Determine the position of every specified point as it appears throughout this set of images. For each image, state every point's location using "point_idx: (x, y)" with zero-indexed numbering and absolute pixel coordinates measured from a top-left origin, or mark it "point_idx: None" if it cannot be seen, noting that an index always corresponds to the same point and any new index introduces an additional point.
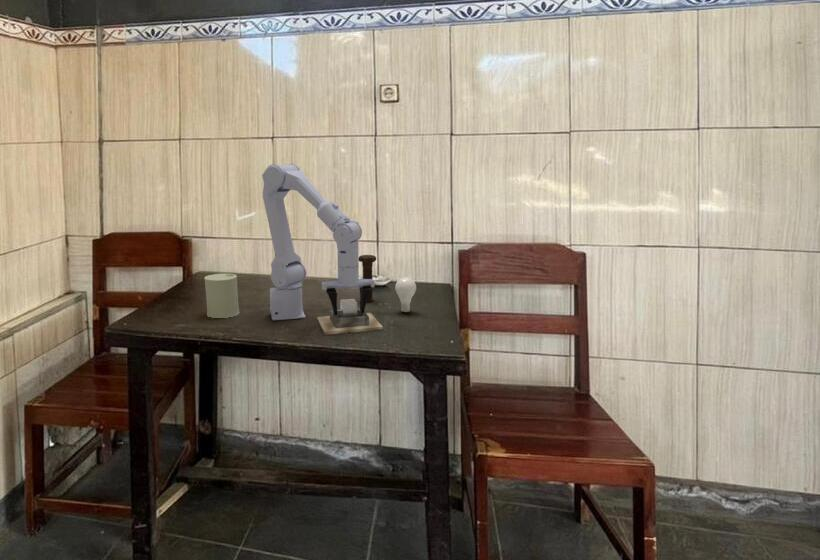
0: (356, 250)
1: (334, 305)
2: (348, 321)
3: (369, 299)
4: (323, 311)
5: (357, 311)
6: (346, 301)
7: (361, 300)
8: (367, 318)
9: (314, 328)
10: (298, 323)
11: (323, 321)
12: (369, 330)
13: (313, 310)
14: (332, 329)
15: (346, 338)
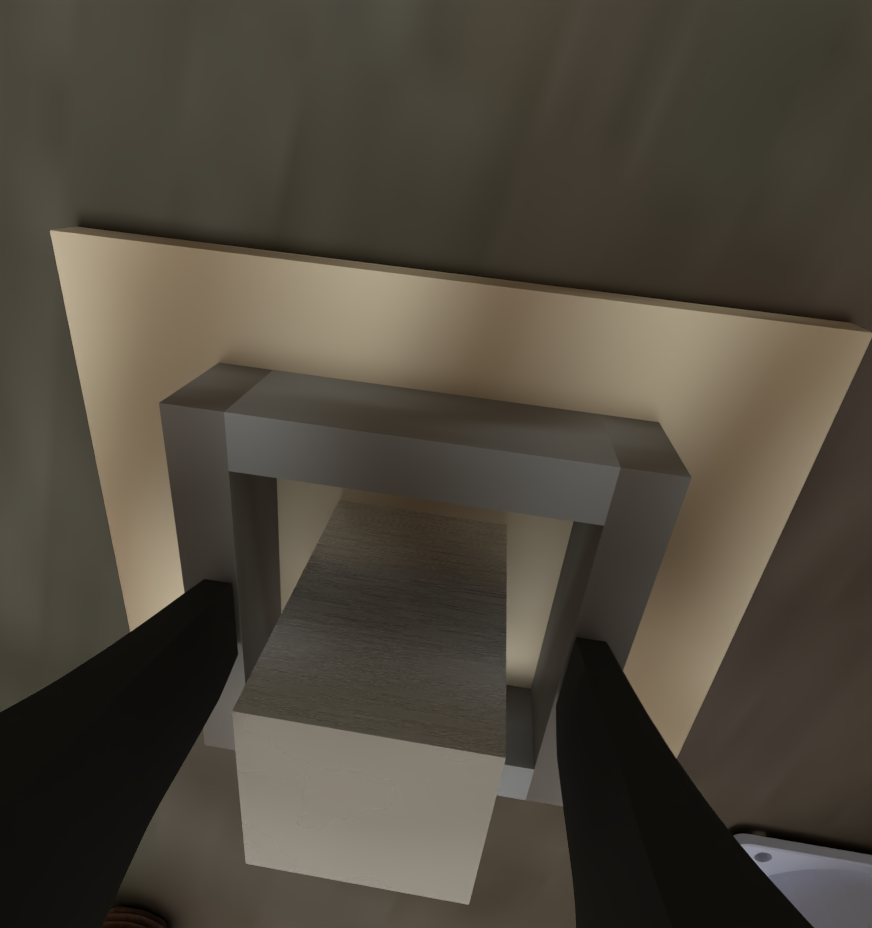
0: None
1: (658, 761)
2: (483, 428)
3: (118, 923)
4: (512, 886)
5: None
6: (401, 810)
7: (138, 766)
8: (194, 400)
9: (818, 581)
10: (867, 755)
11: (669, 674)
12: (248, 250)
13: (575, 924)
14: (722, 389)
15: (660, 22)
